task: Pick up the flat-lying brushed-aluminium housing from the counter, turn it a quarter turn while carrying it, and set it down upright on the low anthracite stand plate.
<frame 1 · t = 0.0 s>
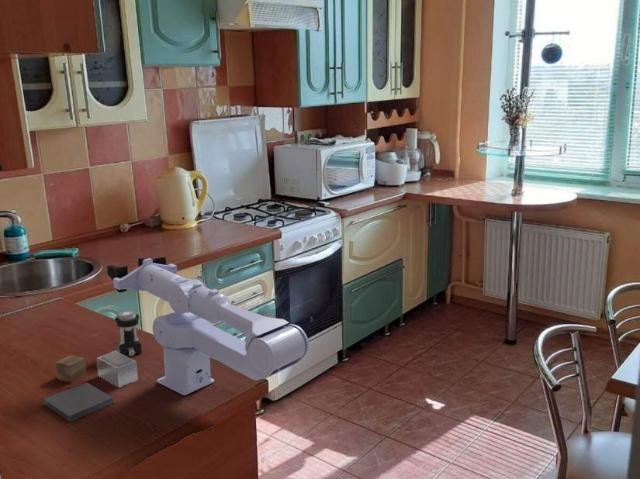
hand: (124, 266, 134), 22 cm above the worktop, tool horizontal, fingers open, 7 cm apart
tan cube: (72, 377, 129), on the worktop
stand: (78, 403, 118), on the worktop
push button: (127, 355, 140), on the worktop
housing: (118, 378, 129), on the worktop
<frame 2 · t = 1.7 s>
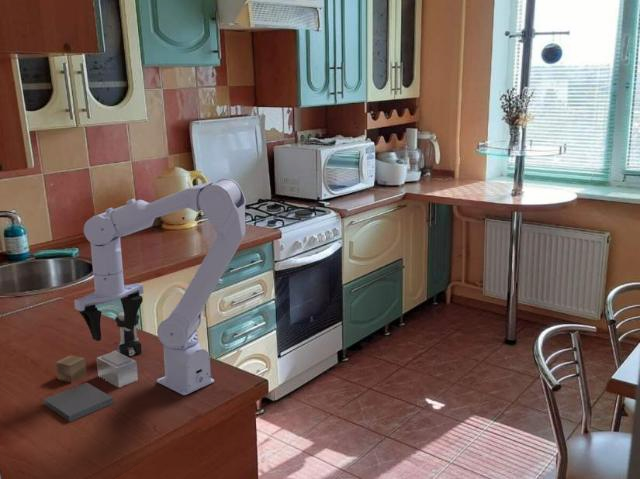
hand: (113, 333, 126), 10 cm above the worktop, tool pointing down, fingers open, 7 cm apart
nothing on the worktop moved.
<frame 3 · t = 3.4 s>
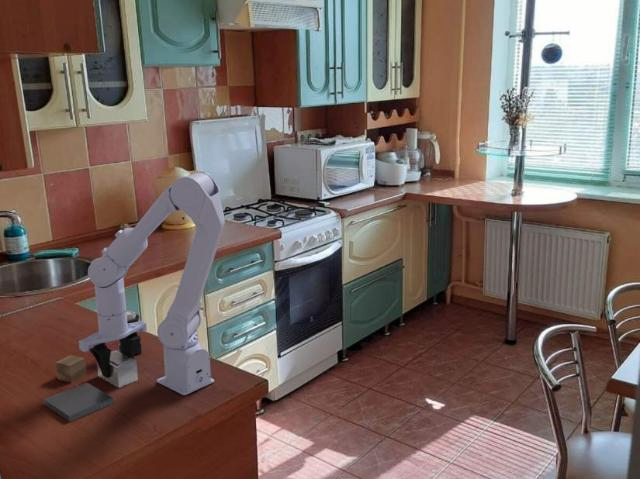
hand: (117, 371, 128), 1 cm above the worktop, tool pointing down, fingers closed on housing, 4 cm apart
housing: (118, 378, 129), on the worktop, touching gripper
everything else where it was.
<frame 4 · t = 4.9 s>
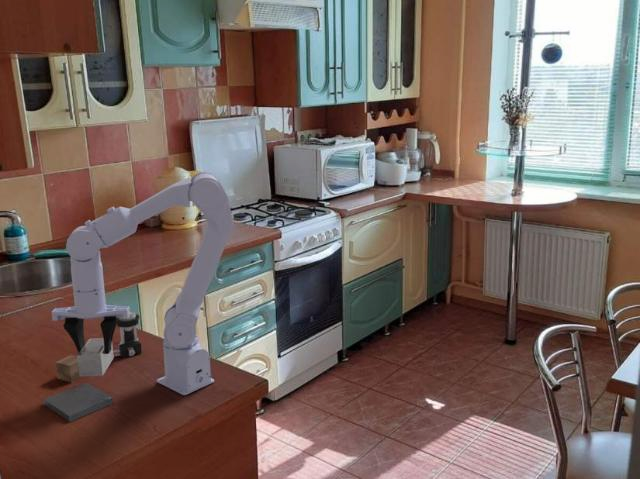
hand: (95, 352, 121), 8 cm above the worktop, tool pointing down, fingers closed on housing, 4 cm apart
housing: (97, 366, 122), point 5 cm above the worktop, touching gripper
everything else where it was.
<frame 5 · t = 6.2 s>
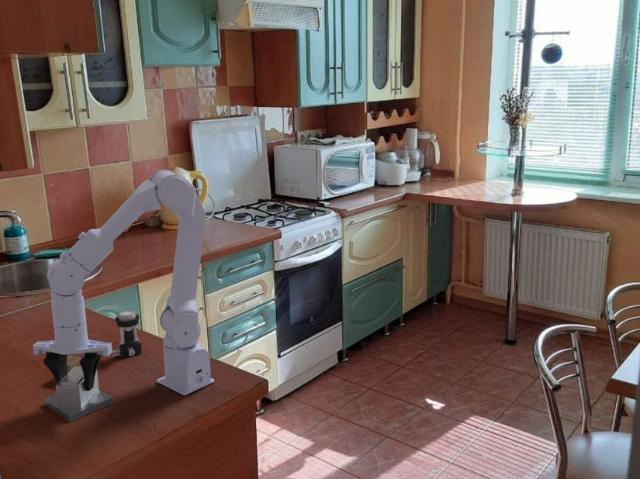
hand: (76, 388, 117), 3 cm above the worktop, tool pointing down, fingers closed on housing, 4 cm apart
housing: (79, 397, 118), point 1 cm above the worktop, touching gripper, stand
everything else where it was.
when the fingers open (3 cm above the worktop, at t = 7.1 s): housing stays where it is, resting on stand.
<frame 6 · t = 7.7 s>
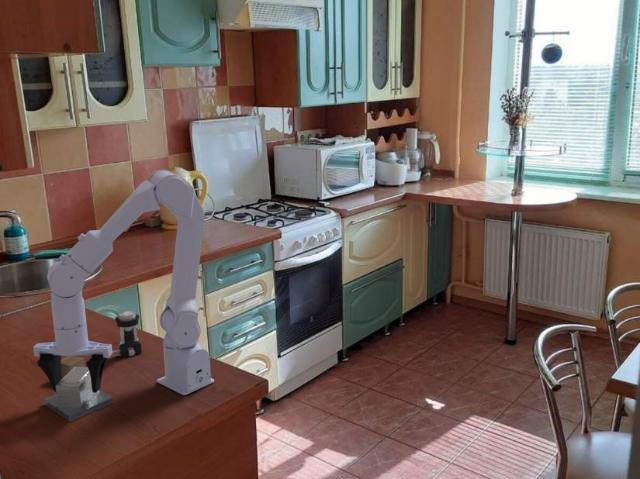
hand: (77, 389, 117), 3 cm above the worktop, tool pointing down, fingers open, 7 cm apart
housing: (79, 397, 118), point 1 cm above the worktop, touching stand
everything else where it was.
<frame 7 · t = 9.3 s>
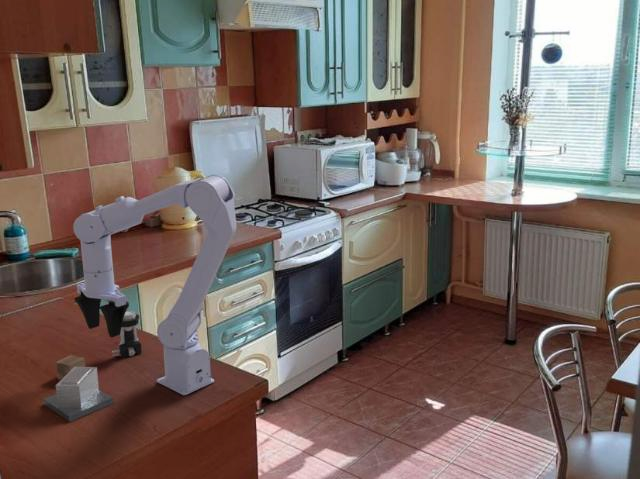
hand: (104, 331, 127), 10 cm above the worktop, tool pointing down, fingers open, 7 cm apart
nothing on the worktop moved.
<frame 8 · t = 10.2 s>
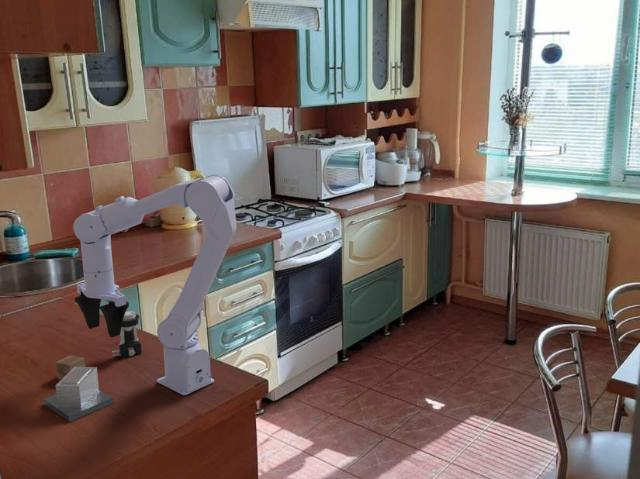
hand: (104, 331, 127), 10 cm above the worktop, tool pointing down, fingers open, 7 cm apart
nothing on the worktop moved.
at the end: housing inside the target area on the stand (0.4 cm from its centre), point 1.2 cm above the stand's base; housing tilted 0°; the gripper is holding nothing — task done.
